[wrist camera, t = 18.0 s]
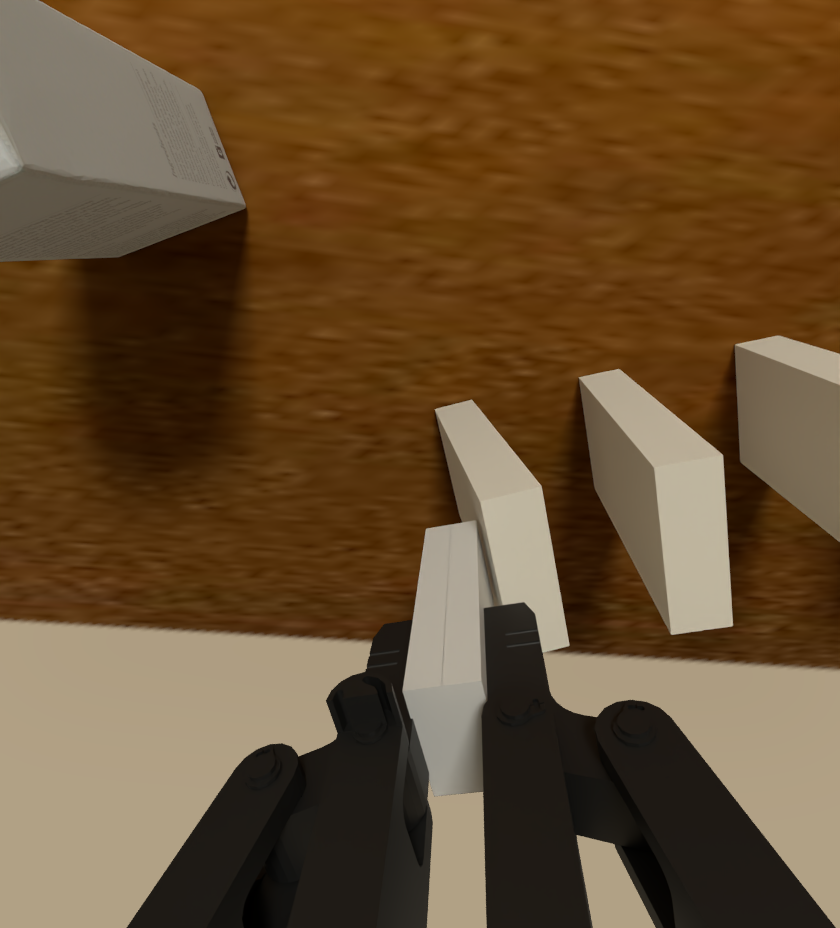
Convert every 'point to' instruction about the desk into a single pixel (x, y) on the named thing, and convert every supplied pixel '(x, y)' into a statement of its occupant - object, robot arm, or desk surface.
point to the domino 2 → (661, 500)
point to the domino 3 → (792, 423)
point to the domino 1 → (504, 517)
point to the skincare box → (98, 144)
